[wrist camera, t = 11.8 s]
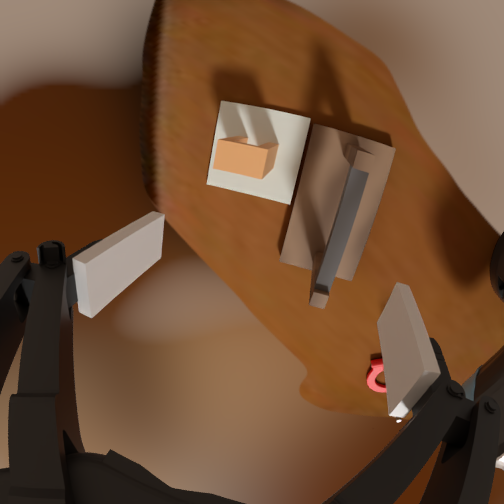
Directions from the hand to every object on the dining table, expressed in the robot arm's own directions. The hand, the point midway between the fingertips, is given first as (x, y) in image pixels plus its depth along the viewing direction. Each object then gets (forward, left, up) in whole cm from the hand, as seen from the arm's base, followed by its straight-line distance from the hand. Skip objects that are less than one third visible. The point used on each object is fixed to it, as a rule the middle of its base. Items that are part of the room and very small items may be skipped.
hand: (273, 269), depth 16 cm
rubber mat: (+6, -3, -23) cm, 24 cm away
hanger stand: (-5, +1, -23) cm, 24 cm away
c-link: (+6, -3, -23) cm, 23 cm away
